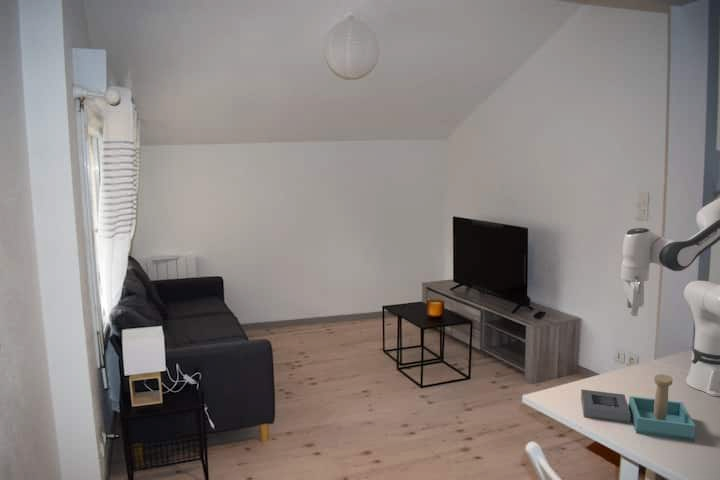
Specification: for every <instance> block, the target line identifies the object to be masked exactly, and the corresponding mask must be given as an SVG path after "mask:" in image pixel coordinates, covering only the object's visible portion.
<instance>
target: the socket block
mask: <svg viewBox="0 0 720 480" xmlns="http://www.w3.org/2000/svg"><path fill="white" fill-rule="evenodd" d="M580 401H581V407H582V408H581V409H582V413H583V415H582V416H583V418H589V419H596V420H603V421H611V422H617V423H625V424H630V423H631V416H630V414H631V413H630V410H629V403H628V401H627V399H626V396H625V394H623V393H616V392H615V393H614V392H607V391H606V392H605V391H597V390H589V389H582V388H581V391H580ZM612 406H614V407H612Z"/></svg>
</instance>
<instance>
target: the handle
mask: <svg viewBox="0 0 720 480" xmlns="http://www.w3.org/2000/svg"><path fill="white" fill-rule="evenodd" d="M653 377H654V378H653V381H654V384H656V388H655V389H656V391H655V396H654V397H655V398H654V399H655V402H654V419H657V420H665V421H666V419H665V418H666V416H667V410H668V401H669V387H670V386H672V385H673V377H672V376H670V375H668V374H664V373H663V374H661V373H659V374H655V376H653Z"/></svg>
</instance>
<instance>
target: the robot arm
mask: <svg viewBox="0 0 720 480" xmlns="http://www.w3.org/2000/svg"><path fill="white" fill-rule="evenodd" d="M695 220H696V225H697V226H698V227H697V228H698V229H699V231H697V232H696V233H695V234H694V235H692V236H691V237H689V238H688V239H686V240H674V239H669V238H666V237H663V236H660V235H658V234H655V233H654V232H652V231H651V230H650V229H649V228H645V227H639V228H638V227H637V228H636V227H635V228H632V229H629V230H627V231H626V233H625V235H624V238H623V243H622V252H621V253H622V257H623V258H622V262H621V267H620V278H621V279H622V287H623V288H622V289H623V292H624V294H625V296H626V302H627V303H626V306H627V308H628V309H630V310H631V312H630V314H631V316H632V317H637V316H638V313H639V309H640V307H641V308H642V307H644V303H645V302H644V301H645V299H644V298H645V285H644V284H645V282H647V281H649V276H650V264H655V265H658V266H661V267H664V268H666V269H668V270H670V271H673V272H682V271H684V270H686V269H688V268H689V267H690V266H691V265H692V264H693V263H694V262H695V261H696V259H697V258H699V257H700V256H701V255H702V254H703V253H705V252H706V251H708V250H709V249H710V248H711V247H713V246H714V245H715V244H717V243H718V242H719V241H720V197H719V198H717V199H715V200H713V201H711V202H709V203H708V204H706V205H705V206H703V207H702V208H700V209H699V210H698V211H697V213H696V216H695ZM683 298H684V300H685V301H686V302H687V304H688V305H689V308H690V310H691V314H692V318H693V321H694V322H693V323H694V327H695V329H694V343H693V346H692V349H691V355H690V356H691V357H690V358H691V359H690V360H691V364H690V368H689V371H688V375H687V377H686V378H685V383H686V384H687V386H689V387H692V388H693V389H696V390H698V391H702V392H704V393H707V394H709V395H711V396H714V397H720V284H717V283H714V282H712V281H708V280H697V279H696V280H692V281H689V282H688V284H687V285H686V286H685V288H684V290H683Z"/></svg>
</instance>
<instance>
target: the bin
mask: <svg viewBox="0 0 720 480" xmlns="http://www.w3.org/2000/svg"><path fill="white" fill-rule="evenodd" d="M654 402H655V398H651V397H650V398H648V397H643V396H642V397H641V396H633V395H629V398H628V407H629V410H630V413H631V414H630V415H631V416H630V419H631V418H632V419H631V421H632V424H633V428H634V430H635V433H636V434H641V435H647V436H649V435H650V436H655V437H663V438H669V439H678V440H683V441H690V442H694V441H695V436H696V435H695V434H696V424H695V422H694V420H693V419H692V418H691V415H690V413H689V412H688V410H687V408H686V406H685V405H684V402H681V401H674V400H668V410H667V416H666V418H665V419H666V421H665V420H657V419H654Z"/></svg>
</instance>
